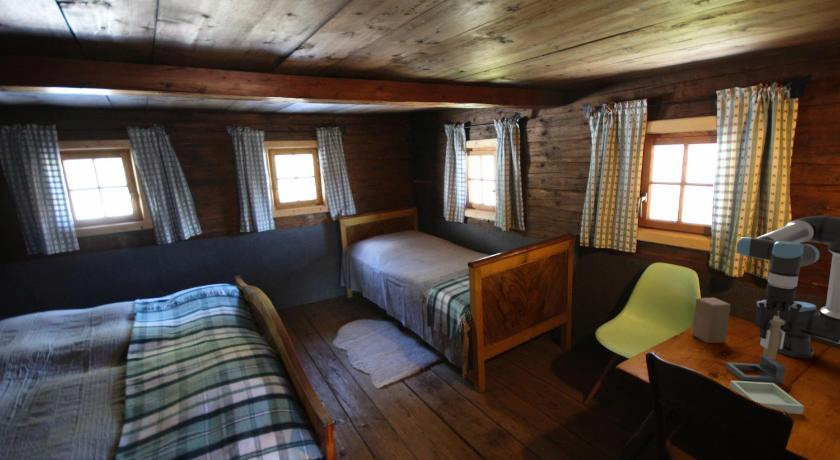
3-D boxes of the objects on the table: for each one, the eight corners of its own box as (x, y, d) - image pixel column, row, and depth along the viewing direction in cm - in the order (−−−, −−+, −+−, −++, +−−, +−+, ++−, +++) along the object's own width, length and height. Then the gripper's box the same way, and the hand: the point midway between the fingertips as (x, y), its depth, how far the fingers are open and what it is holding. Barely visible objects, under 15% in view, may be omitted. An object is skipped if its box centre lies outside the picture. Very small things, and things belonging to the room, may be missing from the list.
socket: (764, 369, 160) (767, 354, 159) (785, 385, 150) (788, 368, 149) (725, 367, 163) (727, 352, 161) (742, 382, 152) (745, 366, 151)
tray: (772, 390, 147) (773, 383, 146) (802, 414, 133) (803, 406, 132) (729, 387, 149) (730, 380, 148) (754, 410, 135) (755, 402, 135)
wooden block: (690, 334, 193) (695, 297, 189) (709, 333, 194) (714, 296, 190) (707, 344, 183) (712, 305, 179) (726, 343, 184) (732, 304, 180)
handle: (760, 358, 138) (767, 319, 135) (759, 351, 142) (766, 313, 140) (778, 362, 135) (785, 323, 132) (777, 355, 139) (784, 317, 137)
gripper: (800, 282, 136) (789, 343, 140) (747, 281, 138) (738, 340, 143) (818, 289, 128) (806, 353, 133) (762, 287, 131) (752, 350, 135)
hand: (771, 346), depth 138 cm, fingers closed on handle, 4 cm apart
